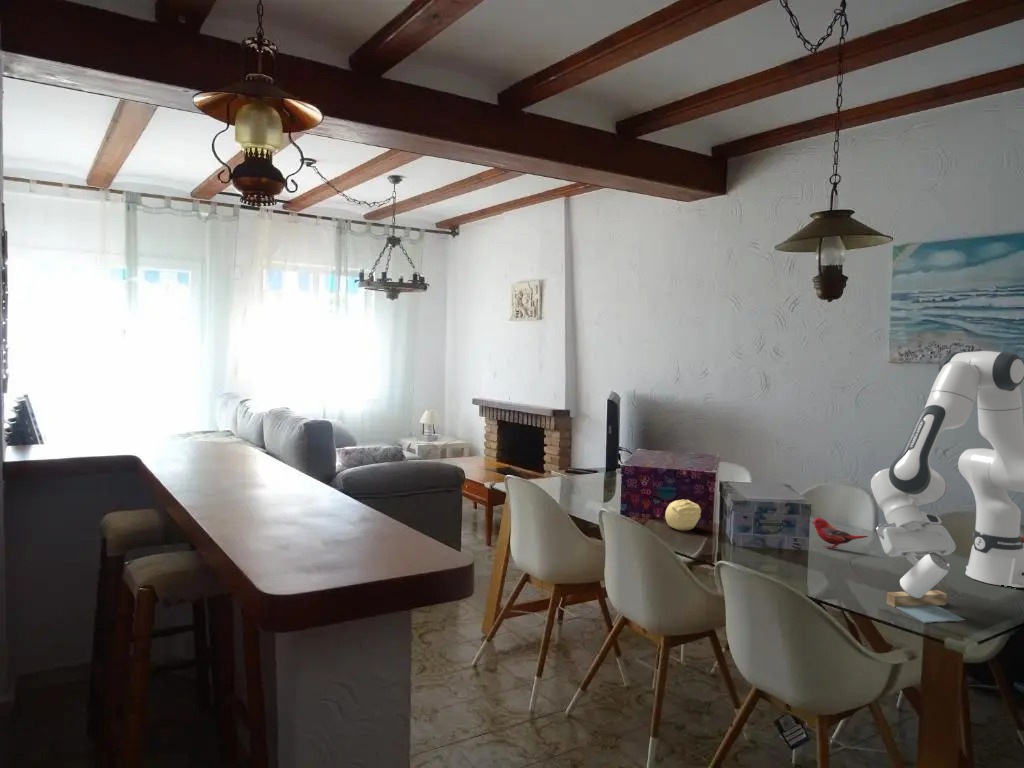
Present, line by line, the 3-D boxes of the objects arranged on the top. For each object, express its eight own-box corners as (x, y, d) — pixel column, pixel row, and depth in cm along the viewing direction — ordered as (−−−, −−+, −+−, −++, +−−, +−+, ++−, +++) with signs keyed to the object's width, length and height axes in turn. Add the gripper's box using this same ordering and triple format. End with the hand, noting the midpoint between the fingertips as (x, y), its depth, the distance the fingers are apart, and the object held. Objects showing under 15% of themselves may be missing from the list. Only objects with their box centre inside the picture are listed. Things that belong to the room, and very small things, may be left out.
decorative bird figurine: (810, 543, 249) (812, 515, 248) (867, 553, 240) (869, 524, 239) (809, 545, 247) (811, 517, 246) (866, 555, 238) (868, 525, 237)
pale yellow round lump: (677, 533, 256) (679, 504, 255) (658, 525, 267) (660, 496, 267) (704, 531, 260) (706, 502, 260) (684, 523, 272) (686, 494, 271)
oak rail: (937, 600, 197) (938, 590, 197) (945, 604, 194) (946, 594, 194) (886, 603, 194) (887, 592, 194) (894, 607, 191) (895, 596, 191)
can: (894, 576, 195) (923, 548, 189) (914, 582, 196) (944, 554, 190) (905, 596, 190) (935, 567, 183) (925, 601, 191) (956, 573, 184)
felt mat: (934, 606, 193) (934, 604, 193) (965, 621, 183) (965, 619, 183) (895, 608, 191) (895, 606, 191) (924, 623, 181) (924, 621, 181)
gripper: (880, 518, 195) (904, 564, 186) (944, 517, 199) (970, 562, 190) (867, 529, 200) (890, 575, 191) (930, 528, 204) (955, 573, 195)
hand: (931, 569), depth 191 cm, fingers open, 4 cm apart
